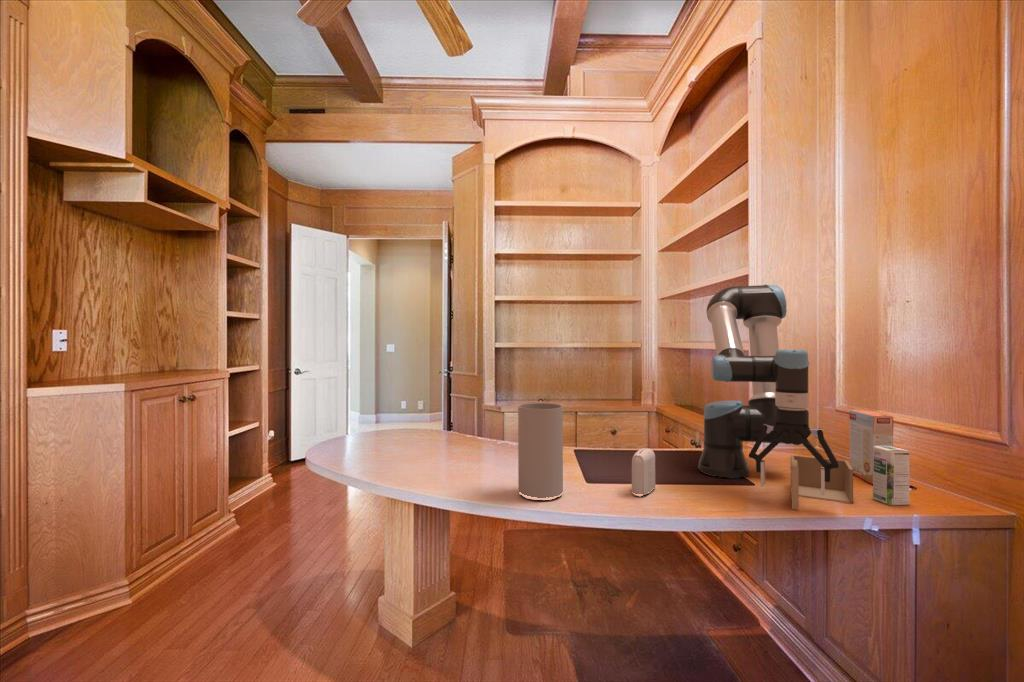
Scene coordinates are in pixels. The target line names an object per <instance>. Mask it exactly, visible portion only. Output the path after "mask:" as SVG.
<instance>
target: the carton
mask: <svg viewBox="0 0 1024 682" xmlns="http://www.w3.org/2000/svg"><path fill="white" fill-rule="evenodd" d="M824 459H825V460H826V461H827V462H828V463H831V462H830V460H829V458H828V459H826V458H825V457H824ZM791 460H797V464H798V482H799V497H800V496H801V497H802V498H808V499H817V500H822V499H824V500H825V501H830V500H831V501H832V502H839V503H847V504H854V475H853V469H852V467H851V465H850V461H848V460H844V459H836V460H837V461H838V463H839V467H838V468H833V469H831V470H830V482H825V496H823V495H821V467H823V466H822V465H821V464H820V462H819V461H818V460H817V459H816V458H815V457H814V456H806V455H805V456H804V455H794V454H790V461H791ZM801 497H800V498H801ZM824 500H823V501H824ZM831 501H830V502H831Z"/></svg>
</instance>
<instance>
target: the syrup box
mask: <svg viewBox="0 0 1024 682" xmlns="http://www.w3.org/2000/svg"><path fill="white" fill-rule="evenodd" d="M910 451H911V450H907V449H903V448H899V447H894V446H893V447H892V446H874V447H873V485H872V499H873V500H876V501H878V502H881V503H882V504H886V505H888V506H909V505H910V480H911V479H910V466H911V465H910V460H911V459H910V457H911V452H910Z"/></svg>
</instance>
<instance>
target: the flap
mask: <svg viewBox="0 0 1024 682" xmlns="http://www.w3.org/2000/svg"><path fill="white" fill-rule="evenodd" d="M790 490H791V492H790V495H791V496H790V497H791V509H792V510H796V511H797V510H798V511H799V505H800V504H799V503H800V502H799V497H800V496H799V482H798V464H797V460H791V459H790Z"/></svg>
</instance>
